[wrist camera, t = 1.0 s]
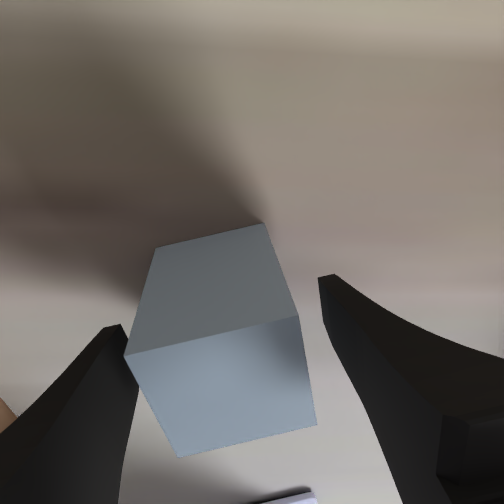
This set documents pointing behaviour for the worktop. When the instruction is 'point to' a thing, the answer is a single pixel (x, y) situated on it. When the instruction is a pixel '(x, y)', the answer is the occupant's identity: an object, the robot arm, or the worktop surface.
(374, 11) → the worktop surface
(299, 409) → the slate block
